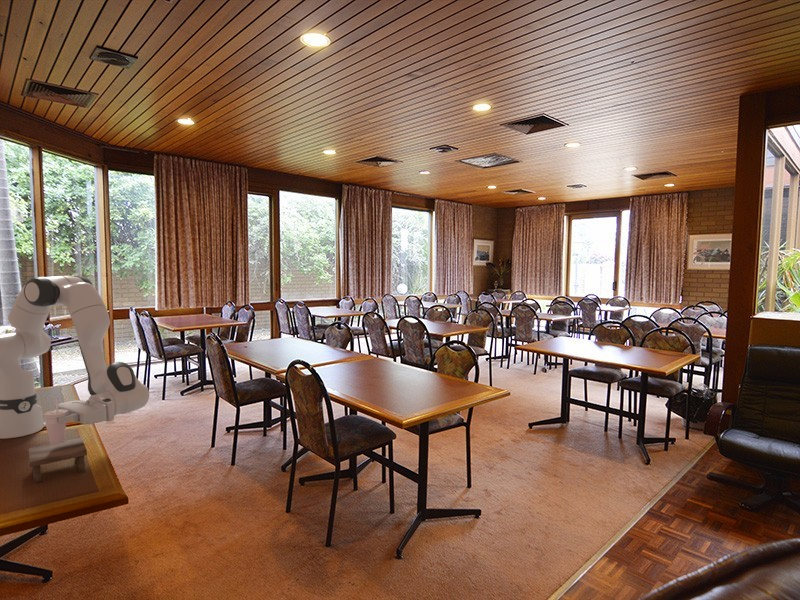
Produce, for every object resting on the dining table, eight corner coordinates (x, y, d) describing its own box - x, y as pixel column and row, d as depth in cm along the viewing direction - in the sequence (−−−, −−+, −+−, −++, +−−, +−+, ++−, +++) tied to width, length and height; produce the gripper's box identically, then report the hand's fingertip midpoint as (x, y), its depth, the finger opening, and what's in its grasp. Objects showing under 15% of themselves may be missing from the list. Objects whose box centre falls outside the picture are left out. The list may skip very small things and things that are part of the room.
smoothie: (57, 446, 144) (55, 401, 143) (38, 445, 145) (36, 400, 144) (74, 439, 150) (72, 396, 149) (56, 438, 151) (55, 395, 150)
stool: (29, 469, 149) (28, 447, 149) (82, 457, 158) (81, 437, 158) (31, 485, 138) (29, 462, 138) (87, 471, 147) (86, 450, 147)
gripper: (82, 393, 163) (36, 403, 151) (115, 402, 153) (68, 414, 141) (84, 411, 164) (37, 423, 152) (116, 421, 153) (69, 434, 141)
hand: (52, 418), depth 146 cm, fingers closed on smoothie, 6 cm apart
